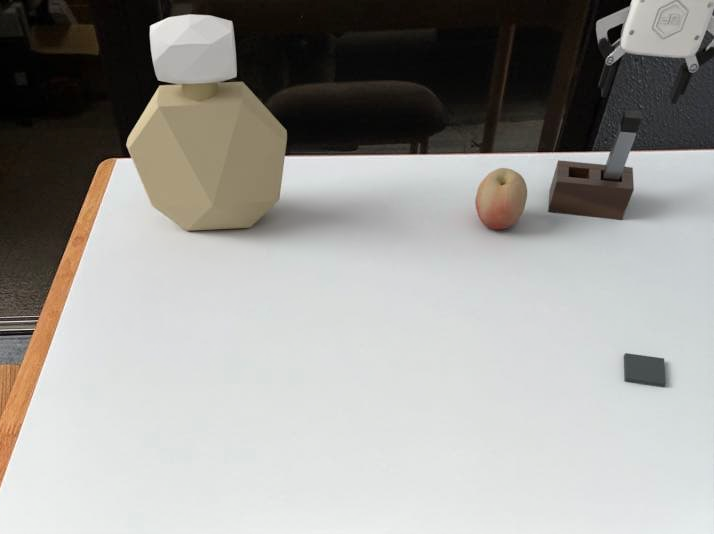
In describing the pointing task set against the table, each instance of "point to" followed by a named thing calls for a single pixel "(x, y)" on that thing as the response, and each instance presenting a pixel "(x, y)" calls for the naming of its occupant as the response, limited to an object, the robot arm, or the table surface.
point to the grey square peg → (622, 145)
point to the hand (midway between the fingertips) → (637, 96)
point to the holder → (589, 191)
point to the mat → (644, 370)
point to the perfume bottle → (205, 131)
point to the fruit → (501, 198)
